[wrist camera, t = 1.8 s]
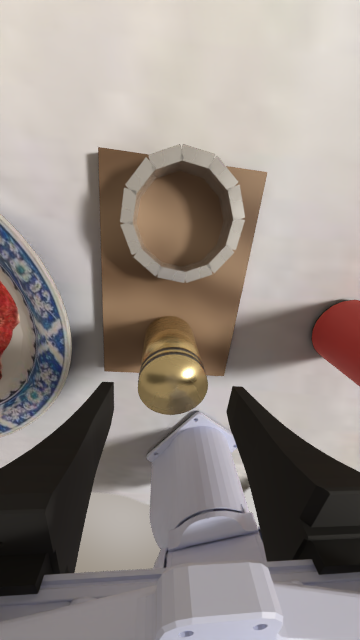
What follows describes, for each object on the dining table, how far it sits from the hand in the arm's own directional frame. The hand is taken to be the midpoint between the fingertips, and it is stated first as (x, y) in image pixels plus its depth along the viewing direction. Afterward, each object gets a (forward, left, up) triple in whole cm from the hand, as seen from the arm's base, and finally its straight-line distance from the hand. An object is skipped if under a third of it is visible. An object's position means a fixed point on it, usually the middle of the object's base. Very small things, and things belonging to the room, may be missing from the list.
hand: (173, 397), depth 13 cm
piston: (0, 0, -8) cm, 8 cm away
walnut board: (+4, +3, -9) cm, 10 cm away
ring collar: (+8, +6, -9) cm, 13 cm away
